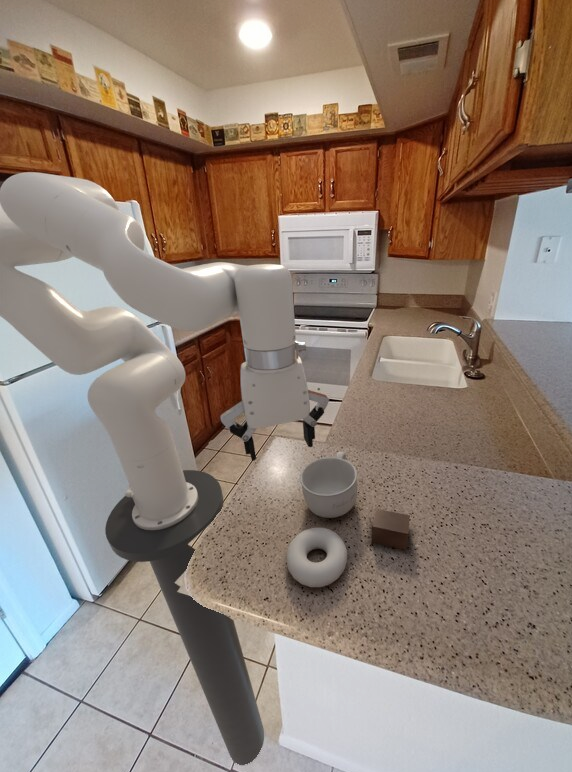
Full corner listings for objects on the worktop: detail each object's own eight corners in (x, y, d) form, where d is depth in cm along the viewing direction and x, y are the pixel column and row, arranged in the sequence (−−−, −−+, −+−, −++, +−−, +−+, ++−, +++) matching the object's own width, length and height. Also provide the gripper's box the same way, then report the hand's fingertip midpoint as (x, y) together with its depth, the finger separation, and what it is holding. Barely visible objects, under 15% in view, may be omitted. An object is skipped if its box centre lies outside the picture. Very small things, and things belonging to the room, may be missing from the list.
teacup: (340, 536, 58) (339, 502, 55) (291, 512, 64) (288, 480, 60) (372, 487, 69) (373, 456, 65) (328, 470, 74) (327, 441, 71)
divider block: (371, 542, 57) (372, 526, 55) (375, 524, 60) (375, 508, 59) (406, 550, 55) (408, 533, 54) (408, 531, 59) (409, 515, 57)
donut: (356, 550, 56) (306, 528, 60) (357, 536, 54) (305, 514, 59) (330, 604, 48) (274, 575, 52) (330, 590, 46) (272, 560, 51)
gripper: (318, 339, 54) (322, 427, 61) (208, 354, 49) (227, 448, 56) (335, 354, 47) (336, 450, 55) (210, 373, 42) (231, 476, 50)
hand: (281, 449), depth 55 cm, fingers open, 9 cm apart
